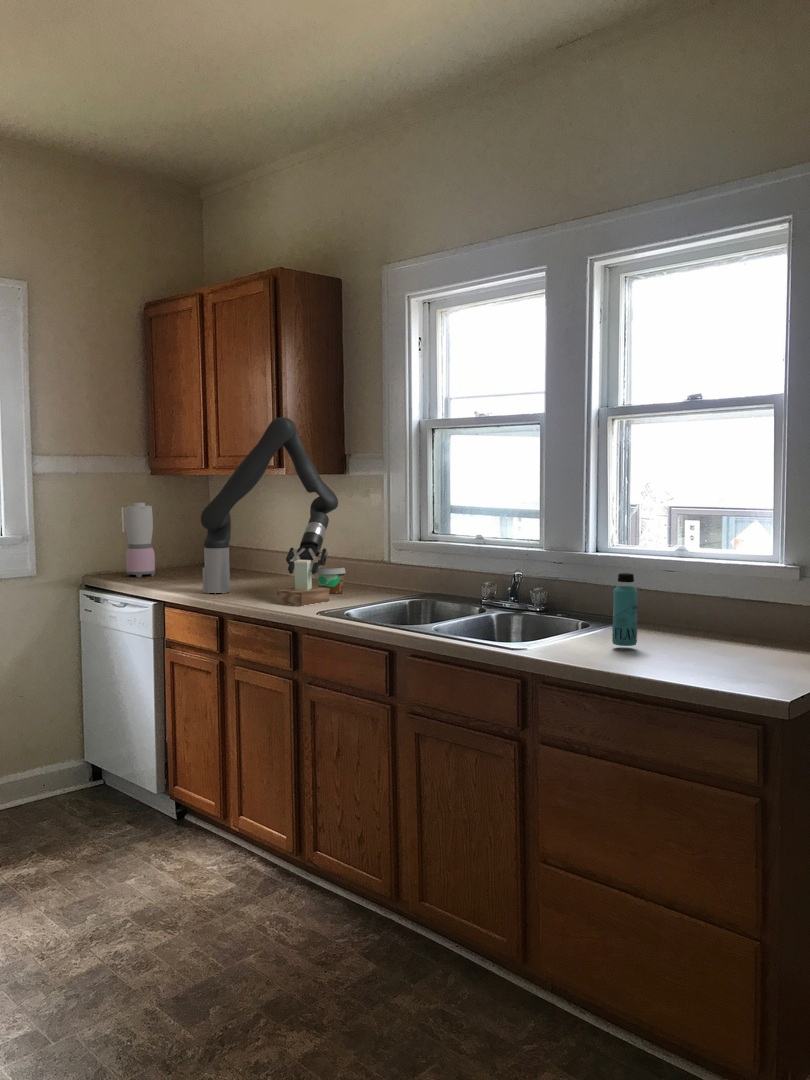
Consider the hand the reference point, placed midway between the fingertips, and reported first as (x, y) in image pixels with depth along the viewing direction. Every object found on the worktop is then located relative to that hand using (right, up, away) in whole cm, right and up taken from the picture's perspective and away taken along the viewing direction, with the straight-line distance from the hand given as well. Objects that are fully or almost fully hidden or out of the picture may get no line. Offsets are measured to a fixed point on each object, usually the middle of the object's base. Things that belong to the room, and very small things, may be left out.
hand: (301, 572), depth 310 cm
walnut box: (0, -11, +2) cm, 11 cm away
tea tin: (0, -6, +2) cm, 6 cm away
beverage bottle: (+94, -17, -78) cm, 123 cm away
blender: (-81, -4, +80) cm, 114 cm away
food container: (+7, -9, +22) cm, 25 cm away
